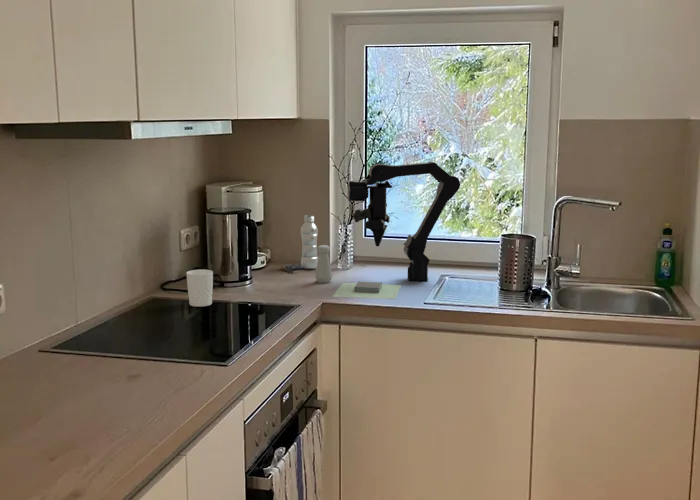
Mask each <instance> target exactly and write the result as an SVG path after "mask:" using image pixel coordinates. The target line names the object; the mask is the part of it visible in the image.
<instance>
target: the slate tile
mask: <svg viewBox="0 0 700 500" xmlns="http://www.w3.org/2000/svg"><path fill="white" fill-rule="evenodd" d="M382 285H383V282H377V281H376V282H375V281H357V282H356V286H355V292H370V293H379V292H380V290H381V288H382Z"/></svg>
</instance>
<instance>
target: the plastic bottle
mask: <svg viewBox="0 0 700 500" xmlns="http://www.w3.org/2000/svg"><path fill="white" fill-rule="evenodd" d="M303 221H304V223H303V224H302V225H301V227H300V237H301V245H302V246H301V248H302V249H301V260H300V264H301V265H300V266H301V267H302V268H303V269H307V270H314V269H317V263H318V257H319V255H318V251H317V248H318V245H317V244H318V234H319V229H318V226H317V225H316V223H315V215H304V217H303Z"/></svg>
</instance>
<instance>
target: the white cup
mask: <svg viewBox="0 0 700 500" xmlns="http://www.w3.org/2000/svg"><path fill="white" fill-rule="evenodd" d="M185 275H186V285H187V292H188V293H187V295H188V301H189V303H188V304H189V305H190V307H191V306H192V307H197V308H198V307H200V308H201V307H208V306H211V305H212V304H213V288H214V286H213V285H214V271H213V270H210V269H192V270H188V271H186V274H185Z"/></svg>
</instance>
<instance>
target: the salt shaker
mask: <svg viewBox="0 0 700 500" xmlns="http://www.w3.org/2000/svg"><path fill="white" fill-rule="evenodd" d="M330 251H331V248H330V246H329V245H327V244H322V245H321V244H320V245H319V246H318V245H317V254H318V263H317V268H315V269H316V270H315V275H314V276H315V280H316V282H317V283H320V284H328V283H330V282H331V280H332V279H333V274H332V268H331V263H330V258H329V253H330Z"/></svg>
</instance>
